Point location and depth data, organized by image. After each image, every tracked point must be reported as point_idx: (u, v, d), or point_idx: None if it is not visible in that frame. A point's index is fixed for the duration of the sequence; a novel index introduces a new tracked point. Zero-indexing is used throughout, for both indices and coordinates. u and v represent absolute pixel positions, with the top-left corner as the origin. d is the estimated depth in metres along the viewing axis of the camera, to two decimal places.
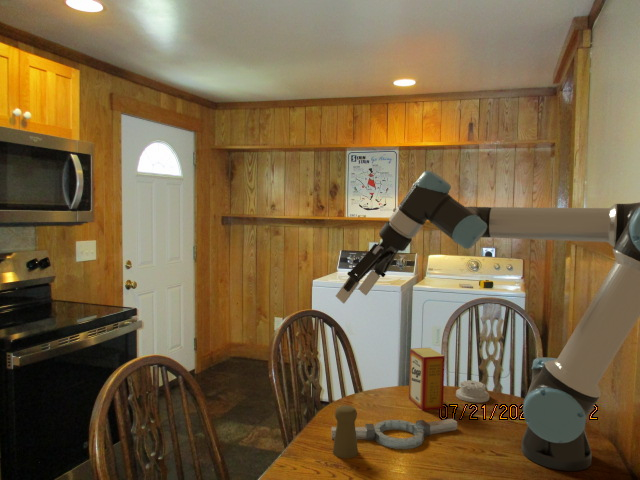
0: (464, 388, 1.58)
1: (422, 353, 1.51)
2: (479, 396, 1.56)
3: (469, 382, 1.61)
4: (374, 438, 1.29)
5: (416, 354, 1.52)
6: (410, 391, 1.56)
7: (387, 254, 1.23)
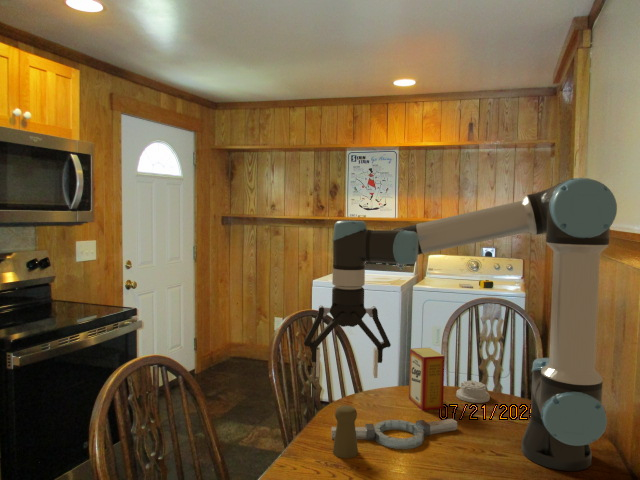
0: (464, 388, 1.57)
1: (422, 353, 1.51)
2: (479, 396, 1.56)
3: (469, 382, 1.60)
4: (374, 438, 1.29)
5: (416, 354, 1.52)
6: (410, 391, 1.56)
7: (339, 314, 1.19)
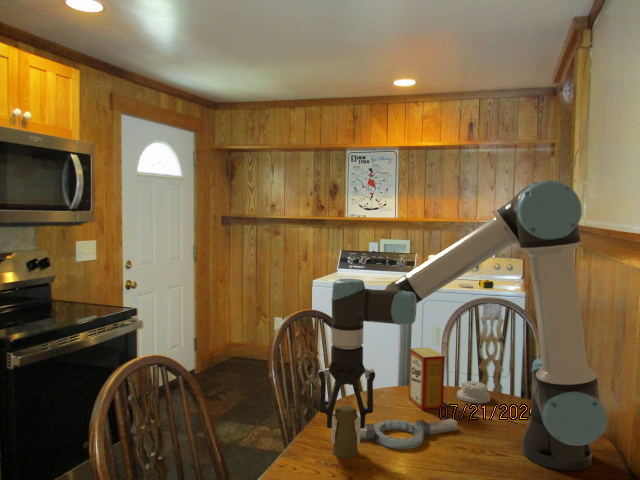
0: (465, 389, 1.57)
1: (422, 353, 1.51)
2: (480, 397, 1.55)
3: (470, 383, 1.60)
4: (374, 438, 1.29)
5: (416, 354, 1.52)
6: (410, 391, 1.56)
7: (338, 374, 1.19)
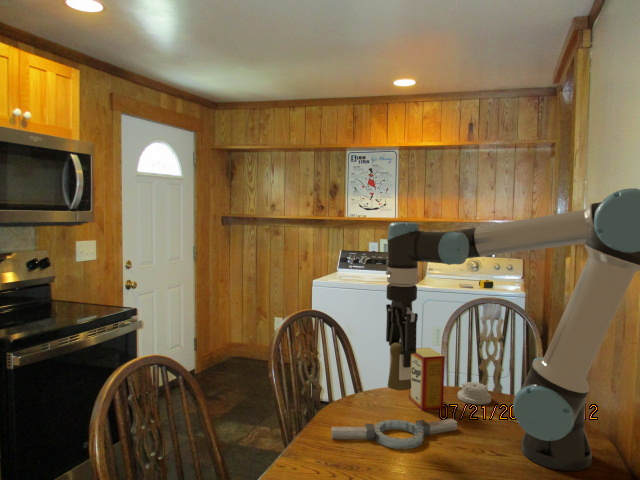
0: (466, 390, 1.56)
1: (422, 353, 1.51)
2: (481, 398, 1.54)
3: (471, 384, 1.59)
4: (374, 438, 1.29)
5: (416, 354, 1.52)
6: (410, 391, 1.56)
7: None
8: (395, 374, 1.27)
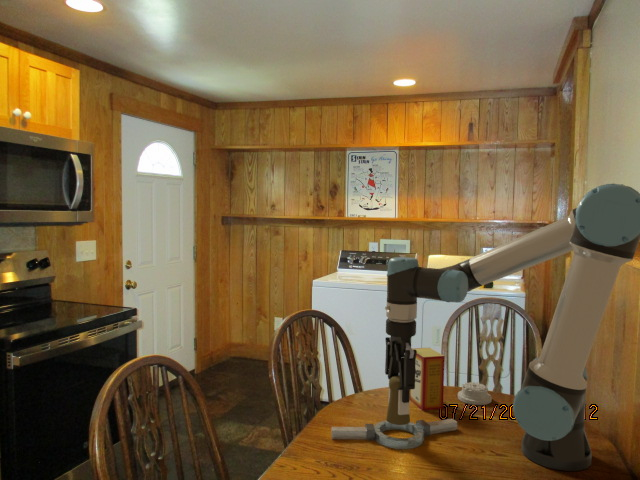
0: (466, 390, 1.56)
1: (422, 353, 1.51)
2: (481, 398, 1.54)
3: (471, 384, 1.59)
4: (374, 438, 1.29)
5: None
6: (410, 391, 1.56)
7: None
8: (393, 408, 1.28)
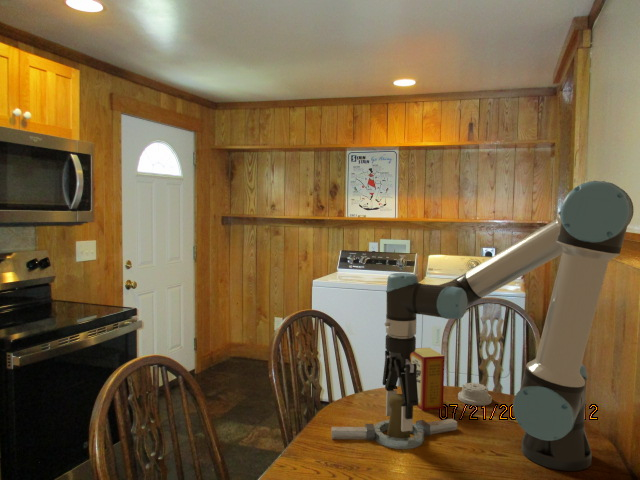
0: (466, 391, 1.55)
1: (422, 353, 1.51)
2: (481, 399, 1.54)
3: (471, 384, 1.58)
4: (374, 438, 1.29)
5: (416, 354, 1.52)
6: None
7: None
8: (394, 426, 1.28)
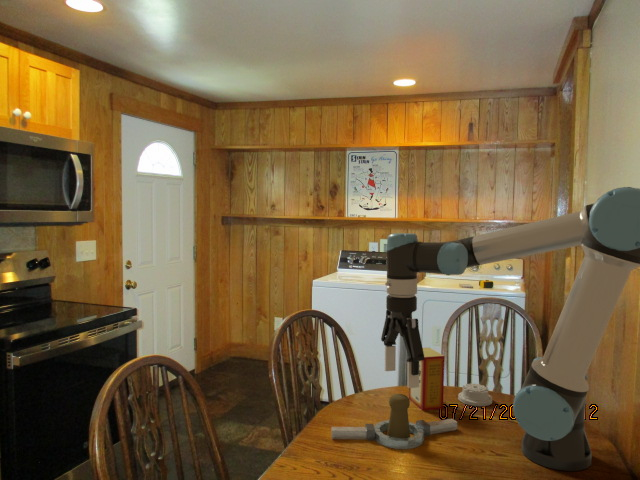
0: (466, 391, 1.55)
1: None
2: (481, 400, 1.53)
3: (472, 385, 1.58)
4: (374, 438, 1.29)
5: None
6: (410, 391, 1.56)
7: None
8: (394, 426, 1.28)
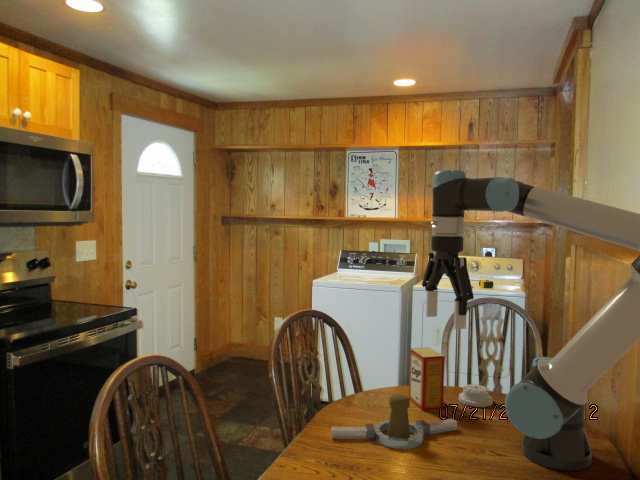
0: (467, 392, 1.54)
1: (422, 353, 1.51)
2: (482, 400, 1.52)
3: (472, 386, 1.57)
4: (374, 438, 1.29)
5: (416, 354, 1.52)
6: (410, 391, 1.56)
7: None
8: (394, 426, 1.28)
